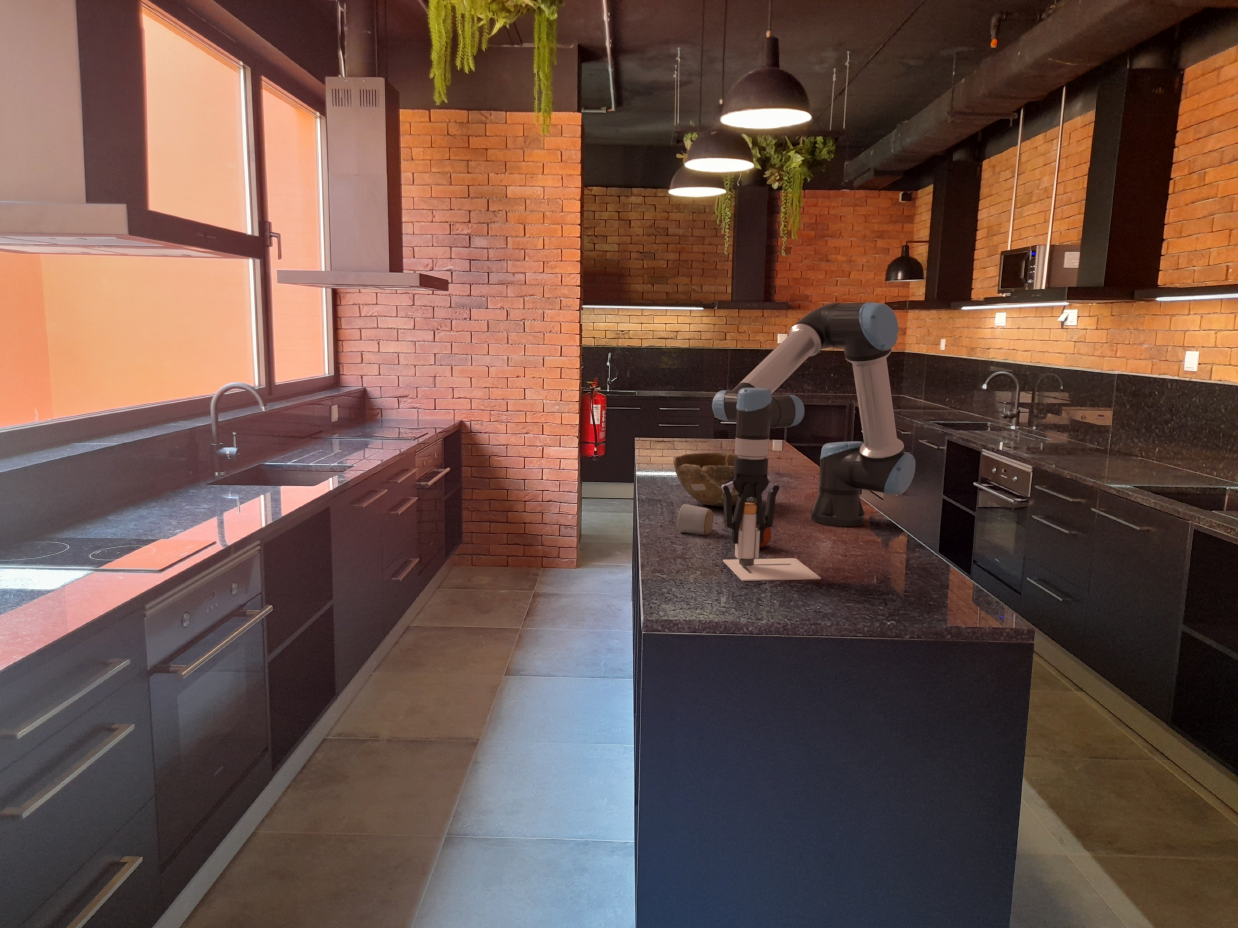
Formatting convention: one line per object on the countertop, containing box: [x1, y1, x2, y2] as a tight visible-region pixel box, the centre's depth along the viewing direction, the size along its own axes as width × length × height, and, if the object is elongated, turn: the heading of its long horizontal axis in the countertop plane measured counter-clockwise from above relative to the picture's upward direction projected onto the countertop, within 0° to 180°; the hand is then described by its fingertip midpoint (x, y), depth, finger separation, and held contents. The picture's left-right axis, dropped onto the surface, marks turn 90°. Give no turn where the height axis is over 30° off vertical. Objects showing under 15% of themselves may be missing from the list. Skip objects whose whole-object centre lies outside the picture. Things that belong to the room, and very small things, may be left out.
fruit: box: [740, 524, 772, 549], centre depth 213 cm, size 9×9×8 cm
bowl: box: [673, 452, 750, 508], centre depth 261 cm, size 28×27×15 cm
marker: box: [739, 502, 757, 566], centre depth 194 cm, size 4×4×14 cm
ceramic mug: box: [677, 503, 714, 536], centre depth 228 cm, size 11×8×8 cm
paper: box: [722, 557, 822, 582], centre depth 194 cm, size 18×16×1 cm
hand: (746, 556), depth 195 cm, fingers closed on marker, 3 cm apart
